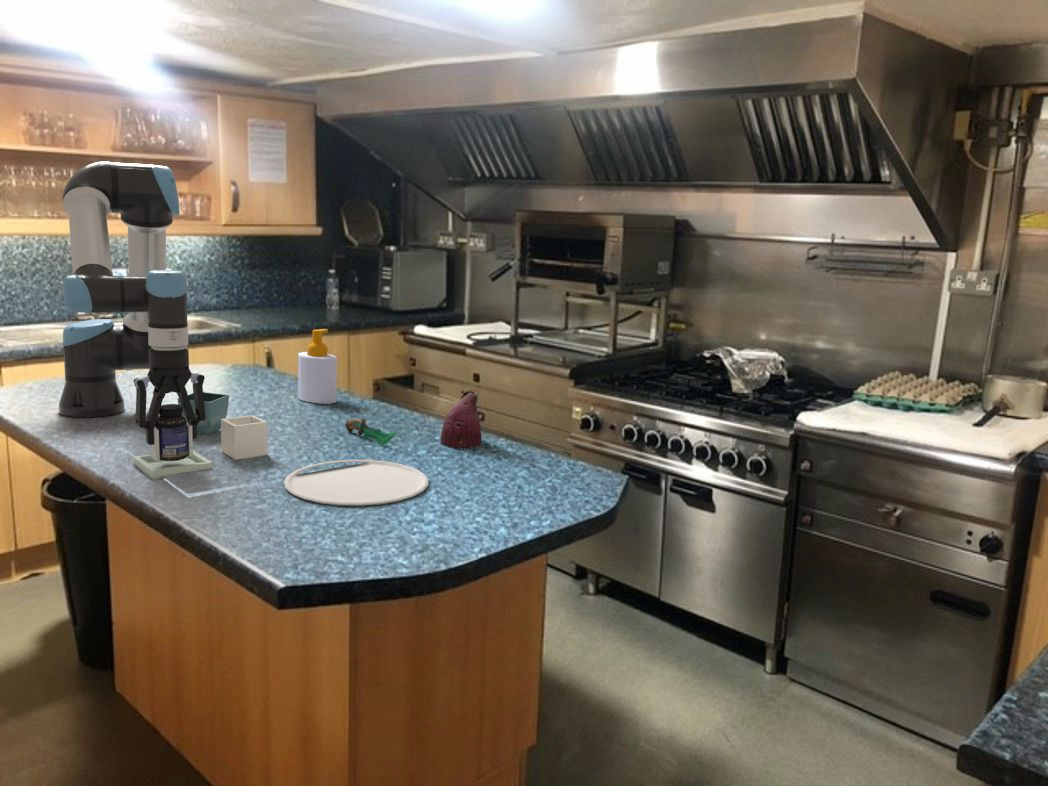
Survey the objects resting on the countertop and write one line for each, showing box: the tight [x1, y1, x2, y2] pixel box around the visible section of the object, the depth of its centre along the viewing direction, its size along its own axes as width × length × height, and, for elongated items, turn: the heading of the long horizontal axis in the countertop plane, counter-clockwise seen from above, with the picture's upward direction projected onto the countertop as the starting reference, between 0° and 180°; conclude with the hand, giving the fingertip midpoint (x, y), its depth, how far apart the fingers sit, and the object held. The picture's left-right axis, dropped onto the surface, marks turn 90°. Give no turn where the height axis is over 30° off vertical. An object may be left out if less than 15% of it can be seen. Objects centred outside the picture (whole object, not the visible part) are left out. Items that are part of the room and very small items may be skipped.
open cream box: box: [220, 414, 268, 460], centre depth 190 cm, size 7×7×8 cm
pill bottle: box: [155, 403, 188, 461], centre depth 178 cm, size 6×6×11 cm
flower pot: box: [177, 391, 230, 435], centre depth 207 cm, size 9×9×9 cm
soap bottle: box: [297, 328, 338, 405], centre depth 246 cm, size 13×8×20 cm, turn 58°
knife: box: [344, 418, 398, 446], centre depth 208 cm, size 21×2×5 cm, turn 44°
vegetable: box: [440, 390, 482, 450], centre depth 209 cm, size 10×10×15 cm
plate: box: [283, 459, 429, 507], centre depth 176 cm, size 29×29×1 cm
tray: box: [132, 450, 213, 481], centre depth 180 cm, size 12×12×2 cm
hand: (172, 456), depth 179 cm, fingers closed on pill bottle, 6 cm apart
